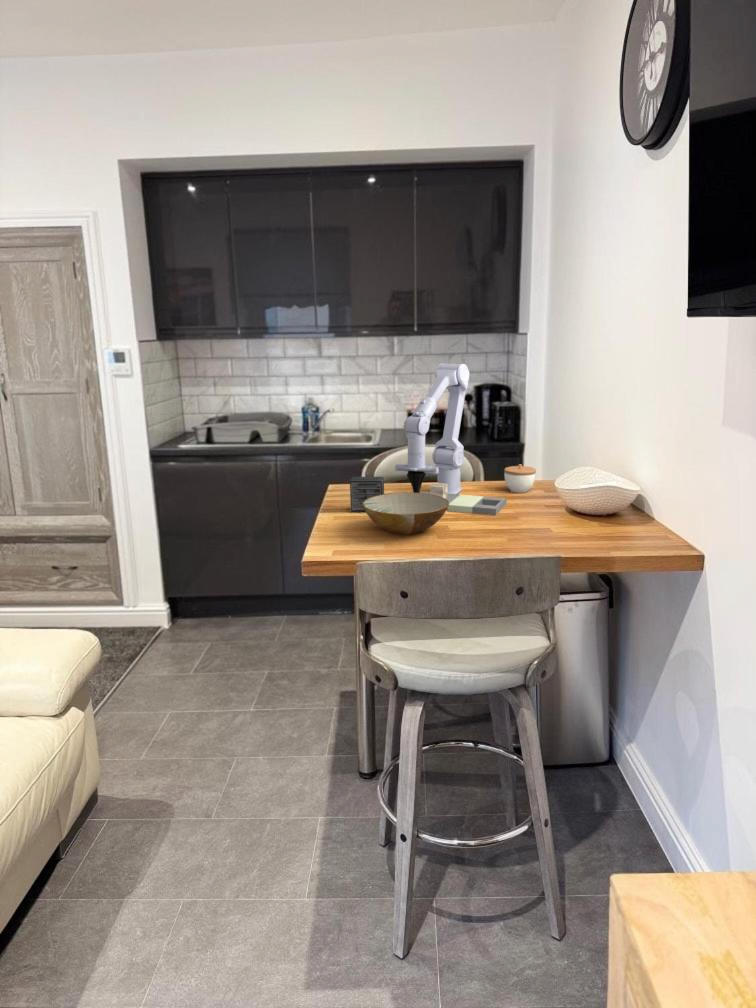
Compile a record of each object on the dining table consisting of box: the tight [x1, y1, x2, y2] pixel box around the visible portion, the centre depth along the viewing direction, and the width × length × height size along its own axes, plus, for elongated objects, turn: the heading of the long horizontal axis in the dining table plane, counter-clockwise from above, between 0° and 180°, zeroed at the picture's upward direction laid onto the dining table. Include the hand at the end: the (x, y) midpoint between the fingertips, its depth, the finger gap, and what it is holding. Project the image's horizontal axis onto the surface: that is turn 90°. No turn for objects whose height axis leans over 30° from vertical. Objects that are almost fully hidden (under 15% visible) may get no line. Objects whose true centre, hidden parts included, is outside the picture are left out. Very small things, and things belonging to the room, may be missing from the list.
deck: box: [411, 491, 507, 516], centre depth 235 cm, size 14×32×2 cm, turn 67°
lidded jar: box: [504, 463, 537, 494], centre depth 252 cm, size 11×11×9 cm
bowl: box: [362, 491, 449, 536], centre depth 209 cm, size 25×25×8 cm
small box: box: [349, 476, 385, 513], centre depth 230 cm, size 11×6×10 cm, turn 84°
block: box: [429, 482, 447, 499], centre depth 236 cm, size 4×4×4 cm
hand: (416, 493), depth 239 cm, fingers closed
